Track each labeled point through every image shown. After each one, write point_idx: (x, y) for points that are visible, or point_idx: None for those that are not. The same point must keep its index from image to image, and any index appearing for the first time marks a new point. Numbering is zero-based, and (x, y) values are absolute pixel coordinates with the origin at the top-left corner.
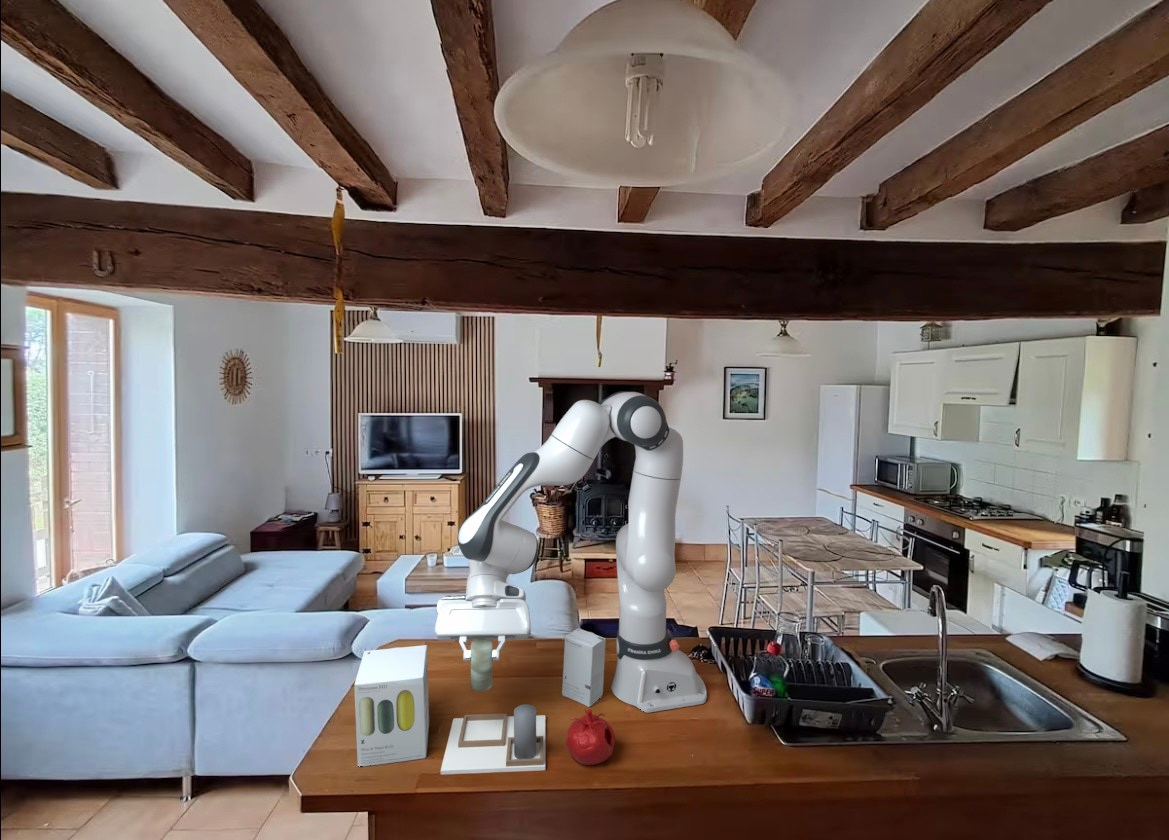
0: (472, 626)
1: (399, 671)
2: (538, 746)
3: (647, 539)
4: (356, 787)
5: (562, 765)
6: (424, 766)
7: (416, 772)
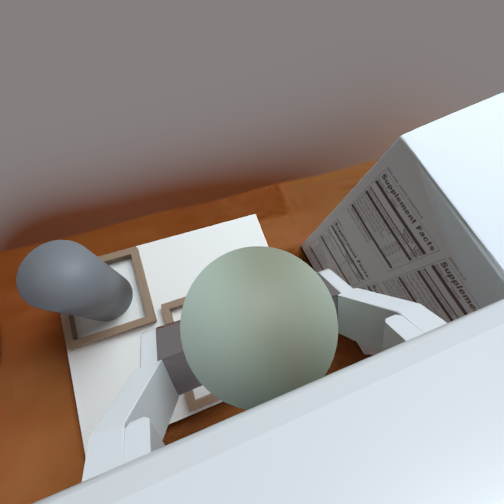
0: (443, 408)
1: (495, 147)
2: (80, 326)
3: None
4: (360, 169)
5: (19, 294)
6: (291, 228)
7: (295, 213)
